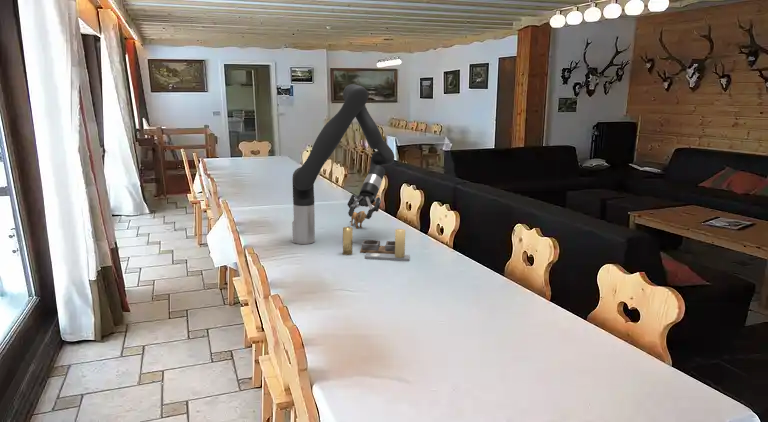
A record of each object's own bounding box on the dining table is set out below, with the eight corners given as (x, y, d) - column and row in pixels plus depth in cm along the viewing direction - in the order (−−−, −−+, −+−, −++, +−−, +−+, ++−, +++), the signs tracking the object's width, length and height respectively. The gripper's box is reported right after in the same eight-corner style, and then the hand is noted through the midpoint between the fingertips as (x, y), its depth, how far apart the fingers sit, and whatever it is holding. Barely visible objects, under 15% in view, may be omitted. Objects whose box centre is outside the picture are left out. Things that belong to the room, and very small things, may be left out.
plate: (364, 258, 204) (365, 230, 202) (366, 255, 209) (366, 227, 207) (409, 261, 203) (410, 232, 200) (409, 257, 208) (410, 229, 205)
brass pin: (342, 254, 209) (342, 228, 207) (343, 251, 213) (343, 226, 211) (351, 255, 209) (351, 229, 206) (353, 252, 213) (353, 226, 210)
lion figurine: (369, 228, 250) (369, 211, 248) (359, 230, 247) (360, 212, 245) (353, 222, 262) (353, 205, 260) (344, 223, 259) (344, 206, 257)
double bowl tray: (360, 252, 212) (360, 244, 212) (362, 247, 220) (362, 239, 219) (402, 254, 211) (403, 246, 210) (404, 249, 219) (404, 241, 218)
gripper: (354, 180, 224) (341, 210, 216) (383, 183, 218) (370, 214, 210) (359, 190, 230) (347, 219, 222) (388, 193, 224) (376, 223, 216)
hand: (358, 217), depth 216 cm, fingers open, 8 cm apart
